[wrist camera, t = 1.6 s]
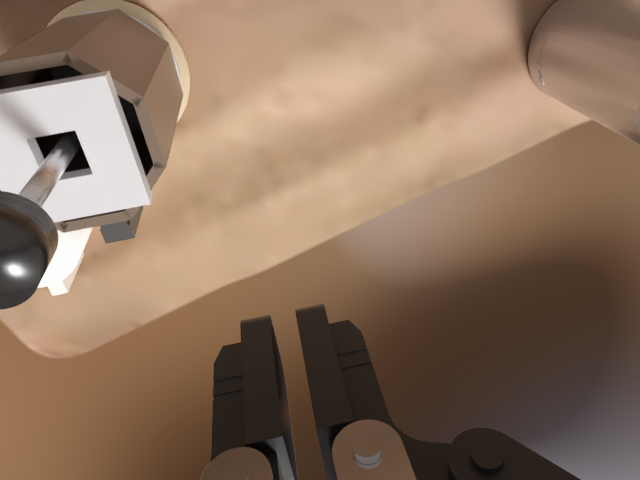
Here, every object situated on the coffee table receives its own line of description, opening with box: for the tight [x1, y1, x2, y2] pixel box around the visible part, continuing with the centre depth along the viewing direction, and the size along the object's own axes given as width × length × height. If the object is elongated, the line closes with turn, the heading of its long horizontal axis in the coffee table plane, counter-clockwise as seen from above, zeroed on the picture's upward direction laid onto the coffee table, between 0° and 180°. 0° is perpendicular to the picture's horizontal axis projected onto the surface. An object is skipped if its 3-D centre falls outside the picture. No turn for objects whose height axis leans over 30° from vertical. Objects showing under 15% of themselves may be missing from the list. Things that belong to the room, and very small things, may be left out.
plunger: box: [0, 131, 81, 309], centre depth 25 cm, size 4×4×17 cm
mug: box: [37, 227, 93, 296], centre depth 41 cm, size 8×10×9 cm
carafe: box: [0, 0, 190, 243], centre depth 34 cm, size 11×13×16 cm
